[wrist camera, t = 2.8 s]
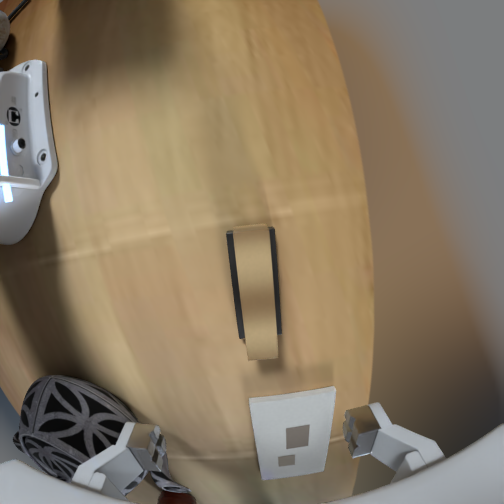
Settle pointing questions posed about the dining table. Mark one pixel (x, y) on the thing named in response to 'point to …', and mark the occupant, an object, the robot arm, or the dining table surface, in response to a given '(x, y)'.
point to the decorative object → (4, 29)
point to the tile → (292, 431)
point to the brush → (255, 288)
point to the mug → (175, 498)
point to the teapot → (76, 428)
